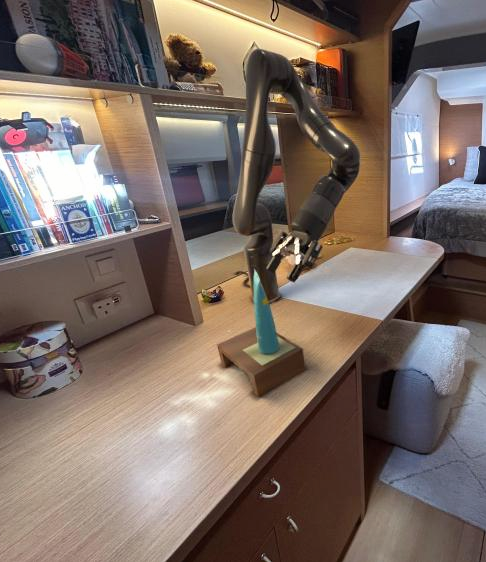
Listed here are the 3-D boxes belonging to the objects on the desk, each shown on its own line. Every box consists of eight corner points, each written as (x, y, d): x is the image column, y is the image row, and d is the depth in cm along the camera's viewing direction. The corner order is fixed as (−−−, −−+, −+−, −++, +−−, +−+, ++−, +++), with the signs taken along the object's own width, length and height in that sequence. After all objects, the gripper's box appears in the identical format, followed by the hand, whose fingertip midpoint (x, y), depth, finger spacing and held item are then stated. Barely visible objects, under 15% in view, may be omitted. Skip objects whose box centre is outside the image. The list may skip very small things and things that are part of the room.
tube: (283, 353, 79) (271, 277, 72) (263, 359, 77) (248, 282, 70) (274, 338, 85) (262, 267, 78) (255, 344, 83) (241, 271, 76)
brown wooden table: (221, 364, 87) (216, 343, 84) (266, 342, 95) (262, 323, 93) (258, 397, 75) (253, 374, 72) (305, 369, 83) (302, 348, 81)
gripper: (286, 205, 83) (251, 261, 80) (323, 211, 74) (286, 276, 71) (305, 222, 88) (274, 275, 86) (342, 230, 79) (308, 290, 76)
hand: (279, 276), depth 78 cm, fingers open, 8 cm apart
